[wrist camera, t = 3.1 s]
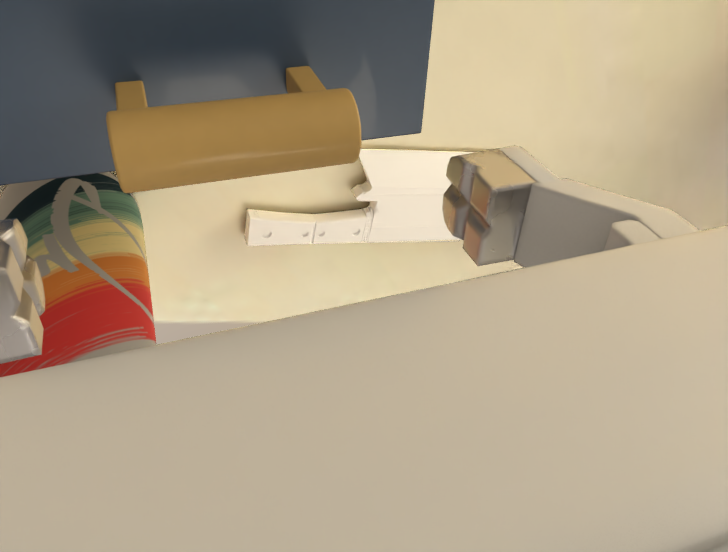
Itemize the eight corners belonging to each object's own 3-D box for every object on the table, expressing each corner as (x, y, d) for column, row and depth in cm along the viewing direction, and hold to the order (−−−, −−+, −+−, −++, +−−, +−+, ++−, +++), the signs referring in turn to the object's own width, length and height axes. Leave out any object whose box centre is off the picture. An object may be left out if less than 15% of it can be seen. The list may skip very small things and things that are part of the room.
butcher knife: (253, 143, 27) (258, 154, 27) (527, 153, 33) (538, 162, 32) (244, 238, 30) (248, 250, 29) (497, 232, 36) (507, 242, 35)
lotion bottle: (141, 159, 26) (205, 645, 12) (140, 266, 29) (190, 751, 15) (-12, 152, 24) (-169, 742, 9) (5, 268, 27) (-93, 841, 13)
